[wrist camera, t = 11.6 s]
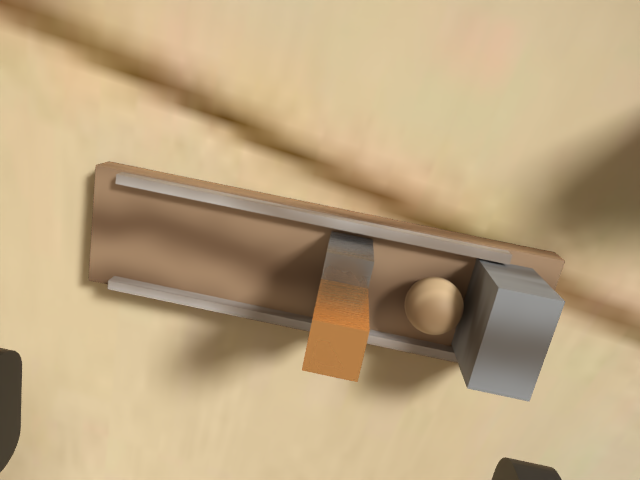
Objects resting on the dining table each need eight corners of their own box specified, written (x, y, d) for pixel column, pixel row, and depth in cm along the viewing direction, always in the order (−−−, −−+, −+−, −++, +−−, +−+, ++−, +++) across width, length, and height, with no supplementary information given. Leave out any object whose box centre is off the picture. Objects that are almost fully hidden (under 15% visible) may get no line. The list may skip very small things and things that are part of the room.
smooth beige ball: (409, 263, 37) (415, 283, 33) (464, 275, 37) (476, 296, 33) (396, 313, 38) (400, 338, 34) (449, 324, 38) (459, 350, 34)
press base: (109, 161, 38) (45, 178, 31) (554, 252, 38) (604, 293, 30) (101, 271, 41) (41, 312, 33) (518, 358, 40) (555, 421, 32)
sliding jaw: (331, 230, 36) (318, 287, 26) (372, 239, 36) (377, 299, 25) (314, 314, 38) (295, 399, 27) (353, 322, 38) (350, 410, 27)
